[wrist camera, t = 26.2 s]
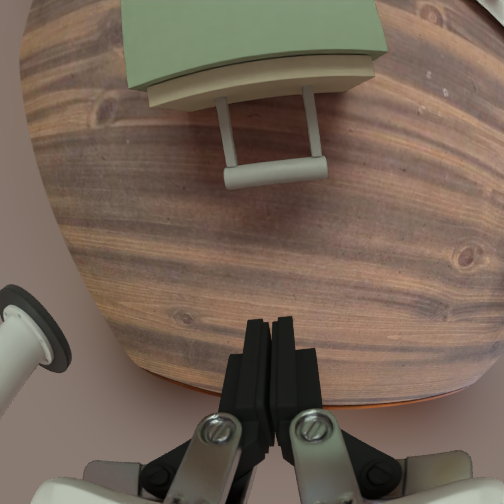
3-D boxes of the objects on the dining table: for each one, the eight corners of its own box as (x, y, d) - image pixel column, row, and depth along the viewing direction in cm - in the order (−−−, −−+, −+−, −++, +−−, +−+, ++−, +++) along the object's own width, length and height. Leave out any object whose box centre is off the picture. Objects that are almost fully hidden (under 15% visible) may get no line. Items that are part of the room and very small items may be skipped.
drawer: (353, 167, 19) (386, 186, 13) (202, 184, 21) (170, 210, 14) (310, -46, 11) (317, -91, 5) (170, -23, 13) (136, -59, 7)
